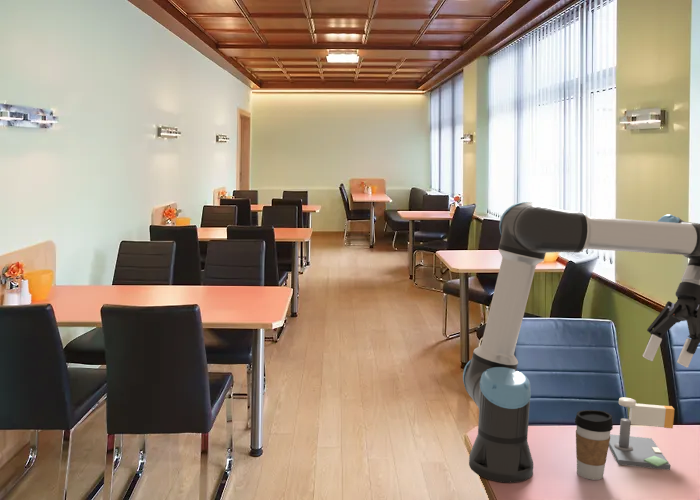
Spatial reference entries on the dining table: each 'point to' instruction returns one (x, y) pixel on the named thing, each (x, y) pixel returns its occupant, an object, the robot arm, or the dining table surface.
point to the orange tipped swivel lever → (643, 418)
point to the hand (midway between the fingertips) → (663, 361)
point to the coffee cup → (592, 442)
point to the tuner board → (638, 453)
